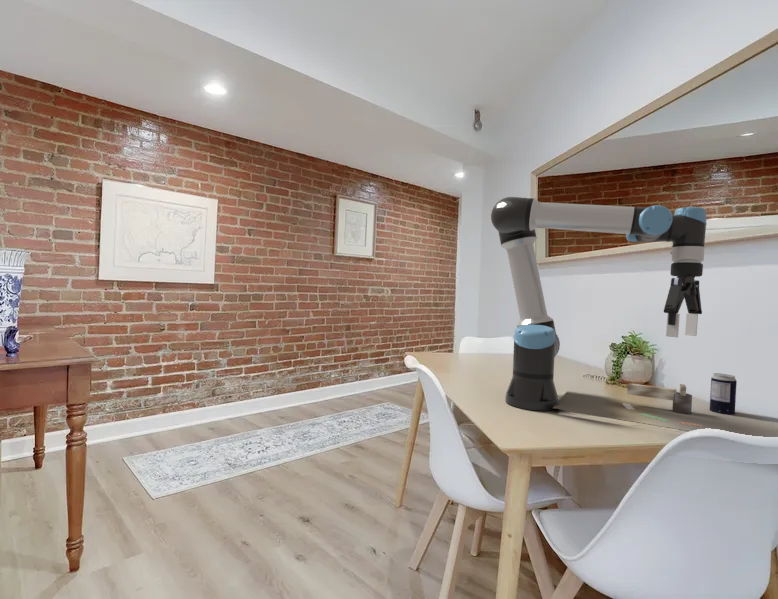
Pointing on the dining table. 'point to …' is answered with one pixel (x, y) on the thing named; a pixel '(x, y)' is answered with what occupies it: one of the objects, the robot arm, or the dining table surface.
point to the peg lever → (663, 395)
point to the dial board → (657, 418)
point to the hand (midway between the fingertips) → (681, 336)
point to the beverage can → (723, 394)
